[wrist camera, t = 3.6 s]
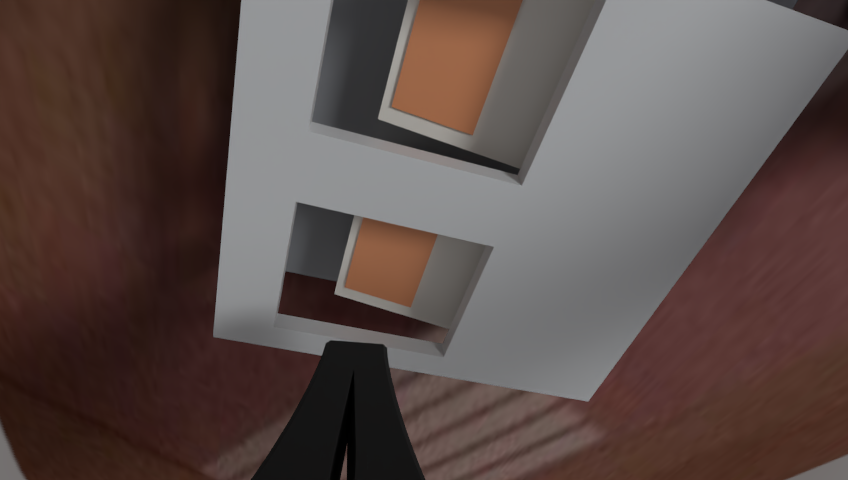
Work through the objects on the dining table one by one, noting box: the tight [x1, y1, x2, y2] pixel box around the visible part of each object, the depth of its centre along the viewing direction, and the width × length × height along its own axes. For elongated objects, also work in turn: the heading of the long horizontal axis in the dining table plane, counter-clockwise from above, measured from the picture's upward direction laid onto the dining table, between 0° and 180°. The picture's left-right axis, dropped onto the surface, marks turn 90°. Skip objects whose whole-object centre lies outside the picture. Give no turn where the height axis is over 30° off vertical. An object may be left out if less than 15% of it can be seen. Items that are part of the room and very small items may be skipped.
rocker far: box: [334, 215, 486, 329], centre depth 17 cm, size 7×5×2 cm
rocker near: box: [378, 0, 595, 169], centre depth 14 cm, size 7×5×2 cm
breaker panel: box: [213, 0, 848, 401], centre depth 16 cm, size 15×14×7 cm
